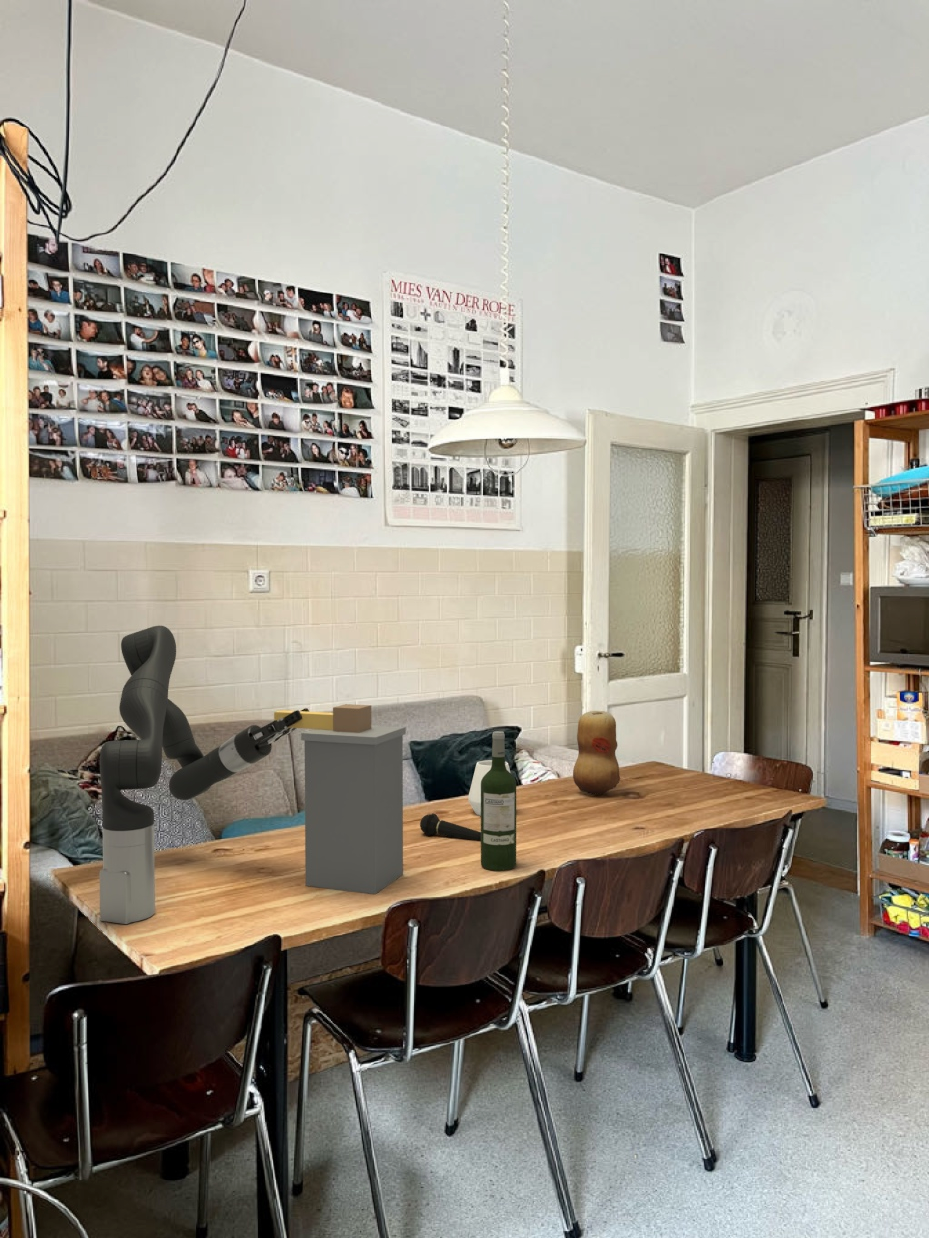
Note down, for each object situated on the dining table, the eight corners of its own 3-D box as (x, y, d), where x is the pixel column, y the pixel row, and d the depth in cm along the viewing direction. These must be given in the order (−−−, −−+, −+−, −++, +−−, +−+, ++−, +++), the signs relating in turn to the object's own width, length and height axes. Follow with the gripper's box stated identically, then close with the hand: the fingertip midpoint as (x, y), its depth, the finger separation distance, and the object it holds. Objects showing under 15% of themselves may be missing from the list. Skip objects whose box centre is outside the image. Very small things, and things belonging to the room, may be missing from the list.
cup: (461, 817, 256) (461, 765, 256) (475, 806, 269) (475, 757, 269) (510, 820, 253) (510, 768, 252) (521, 809, 265) (521, 759, 265)
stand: (302, 886, 197) (301, 733, 196) (336, 866, 211) (335, 723, 210) (376, 895, 191) (375, 737, 190) (406, 874, 205) (405, 727, 204)
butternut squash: (578, 799, 277) (578, 714, 276) (569, 790, 291) (569, 708, 290) (624, 798, 278) (624, 714, 278) (613, 789, 292) (614, 708, 291)
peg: (270, 727, 203) (270, 704, 203) (285, 723, 209) (285, 701, 209) (358, 732, 196) (358, 708, 196) (371, 728, 202) (371, 705, 202)
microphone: (495, 852, 233) (422, 834, 241) (500, 829, 234) (428, 812, 242) (488, 851, 228) (414, 832, 236) (493, 827, 229) (419, 810, 237)
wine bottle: (486, 872, 206) (486, 735, 205) (476, 862, 214) (476, 730, 213) (521, 869, 208) (521, 733, 207) (509, 859, 216) (509, 728, 215)
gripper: (219, 738, 203) (279, 701, 198) (255, 729, 216) (312, 694, 211) (234, 769, 202) (295, 733, 197) (269, 758, 215) (327, 724, 210)
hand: (304, 713), depth 204 cm, fingers closed on peg, 3 cm apart
